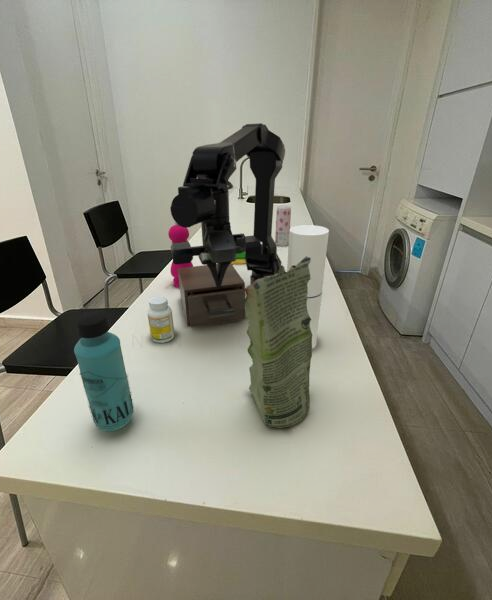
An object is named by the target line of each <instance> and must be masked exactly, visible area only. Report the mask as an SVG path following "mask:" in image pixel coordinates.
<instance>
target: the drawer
mask: <svg viewBox="0 0 492 600" xmlns="http://www.w3.org/2000/svg"><path fill="white" fill-rule="evenodd" d="M245 298H246V292H245V290H244V288H243V289H239V287H232V288H224V289H216V290H208V291H200V292H192V293H188V306H189V317H190V326H189V327H190V328H195V327H202V326H207V325H215V324H223V323H228V322H235V321H241V320H246V315H245V313H246V307H245V305H244V301H245Z"/></svg>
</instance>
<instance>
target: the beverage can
mask: <svg viewBox="0 0 492 600" xmlns="http://www.w3.org/2000/svg"><path fill="white" fill-rule="evenodd" d="M291 216H292V207H291V205H277V207H276V216H275V218H276V220H275V236H274V237H275V239H274V242H275V244H276V246H278V247H279V246H280V247H285V246H289V230H290V228H291V218H292V217H291Z"/></svg>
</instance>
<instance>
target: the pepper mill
mask: <svg viewBox="0 0 492 600" xmlns="http://www.w3.org/2000/svg"><path fill="white" fill-rule="evenodd" d="M167 234H168V239H169V240H170V241H171V242H170V244H171V245H170V247H171V246H172V244H173V243H183V242H189V241H188V239H189V237H190V231H189V228H184V227H181V226H180V225H178V224H177V223H176V222H175V221H174V225H172V226H171V227H170V228H169V229H168V233H167ZM185 267H194V264H193V262H192V261H191V262H190V263H185V264H174V263H173V261H172V262H171V265H170V275H171V276H172V280H173V281H172V282H173V286H174V287H175V288H179V289H180V285H179V276H178V268H185Z"/></svg>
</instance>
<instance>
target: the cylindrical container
mask: <svg viewBox="0 0 492 600" xmlns="http://www.w3.org/2000/svg"><path fill="white" fill-rule="evenodd" d="M329 235H330V230H329V228H327V227H325V226H322V225H316V224H315V225H314V224H302V225H299V224H298V225H294V226H292V227H290V230H289V244H288V246H287V247H288V249H287V266H286V272H288V271H289V269H290V268H291V266H293V265H297V264H298V263H299V262H300V261H301V260H302V259H304V258H305V257H306V256H307V257H308V258H309V257H310V258H311V261H310V263H309V266H308V267H309V271H310V280H309V281H308V284H307V287H308V291H307V292H308V294H307V311H308V314H309V316H310V318H311V321H310V329H311V332H312V350H313V349H315V348H316V346H317V340H318V331H319V322H320V313H321V306H322V305H321V303H322V298H323V297H322V296H323V295H322V294H323V285H324V279H325V269H326V260H327V251H328V242H329Z"/></svg>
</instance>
